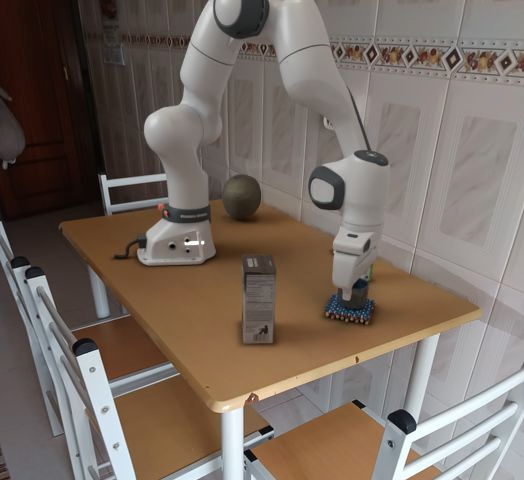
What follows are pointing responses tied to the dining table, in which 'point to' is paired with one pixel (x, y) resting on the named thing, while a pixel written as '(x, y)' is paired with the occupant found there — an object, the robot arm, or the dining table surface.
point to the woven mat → (350, 311)
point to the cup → (355, 295)
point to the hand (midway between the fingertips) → (353, 292)
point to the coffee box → (258, 298)
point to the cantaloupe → (241, 196)
